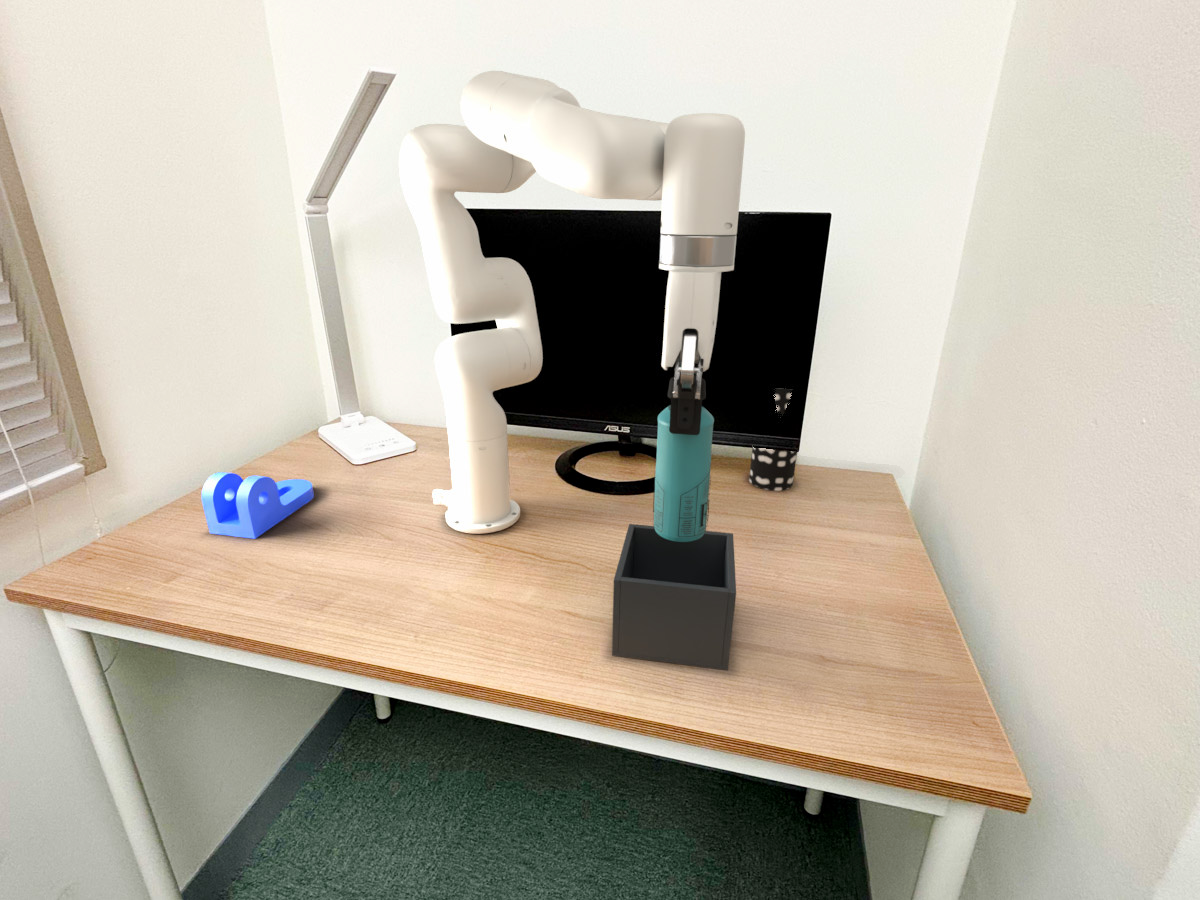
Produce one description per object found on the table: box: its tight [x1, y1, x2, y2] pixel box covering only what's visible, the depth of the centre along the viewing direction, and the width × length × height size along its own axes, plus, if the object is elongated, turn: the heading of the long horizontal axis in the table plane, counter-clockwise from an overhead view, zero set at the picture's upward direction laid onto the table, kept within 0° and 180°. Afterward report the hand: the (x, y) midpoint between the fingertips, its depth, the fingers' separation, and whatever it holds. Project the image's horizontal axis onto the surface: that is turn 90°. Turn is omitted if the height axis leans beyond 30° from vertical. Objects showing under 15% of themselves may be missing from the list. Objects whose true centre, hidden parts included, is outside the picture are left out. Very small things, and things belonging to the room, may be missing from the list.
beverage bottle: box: [652, 376, 715, 542], centre depth 70 cm, size 6×7×20 cm
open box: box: [611, 523, 737, 671], centre depth 77 cm, size 14×14×11 cm
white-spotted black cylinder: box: [748, 388, 798, 492], centre depth 117 cm, size 8×8×20 cm
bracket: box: [201, 471, 315, 540], centre depth 106 cm, size 18×8×9 cm, turn 169°
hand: (686, 421), depth 68 cm, fingers closed on beverage bottle, 6 cm apart
